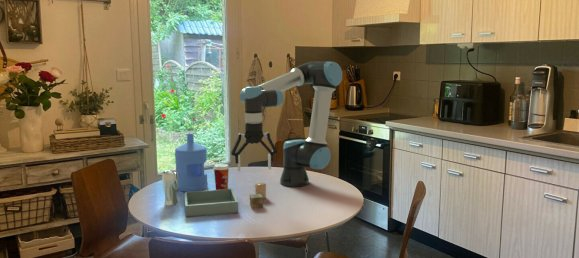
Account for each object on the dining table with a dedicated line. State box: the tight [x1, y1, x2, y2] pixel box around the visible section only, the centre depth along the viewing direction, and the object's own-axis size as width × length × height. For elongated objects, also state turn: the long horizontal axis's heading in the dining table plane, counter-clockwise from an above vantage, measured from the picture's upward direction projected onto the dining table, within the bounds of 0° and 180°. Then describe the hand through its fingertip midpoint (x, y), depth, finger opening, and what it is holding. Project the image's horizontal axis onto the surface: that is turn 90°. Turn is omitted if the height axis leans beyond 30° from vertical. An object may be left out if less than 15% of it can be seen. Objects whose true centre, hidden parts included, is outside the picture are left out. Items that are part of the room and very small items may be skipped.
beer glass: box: [161, 169, 179, 207], centre depth 202 cm, size 7×7×15 cm
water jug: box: [174, 133, 209, 193], centre depth 226 cm, size 16×16×28 cm
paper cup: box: [212, 163, 230, 190], centre depth 218 cm, size 8×8×14 cm
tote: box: [184, 188, 239, 218], centre depth 198 cm, size 22×20×5 cm
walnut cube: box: [249, 193, 264, 210], centre depth 199 cm, size 5×5×5 cm
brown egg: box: [254, 182, 267, 201], centre depth 211 cm, size 5×5×7 cm
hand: (254, 169), depth 197 cm, fingers open, 13 cm apart
